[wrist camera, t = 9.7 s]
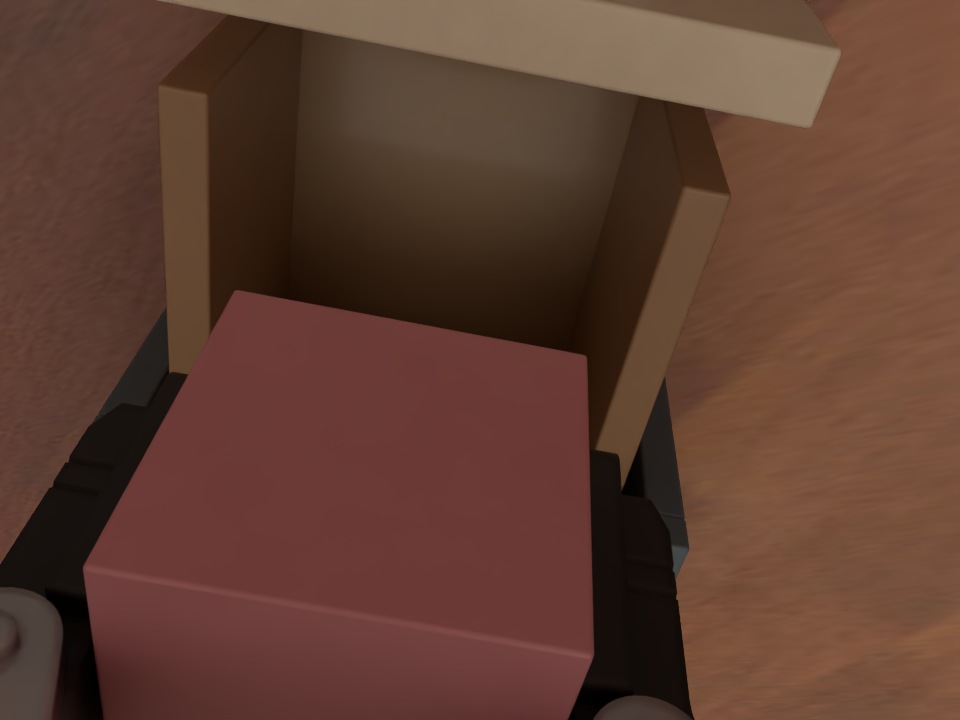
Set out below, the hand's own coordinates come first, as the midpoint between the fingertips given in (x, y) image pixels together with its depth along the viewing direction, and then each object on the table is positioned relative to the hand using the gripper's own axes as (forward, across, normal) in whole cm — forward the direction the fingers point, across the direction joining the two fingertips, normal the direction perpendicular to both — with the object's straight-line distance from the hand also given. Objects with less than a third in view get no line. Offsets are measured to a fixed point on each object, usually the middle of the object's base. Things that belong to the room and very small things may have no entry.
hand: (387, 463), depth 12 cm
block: (0, 0, 0) cm, 0 cm away
